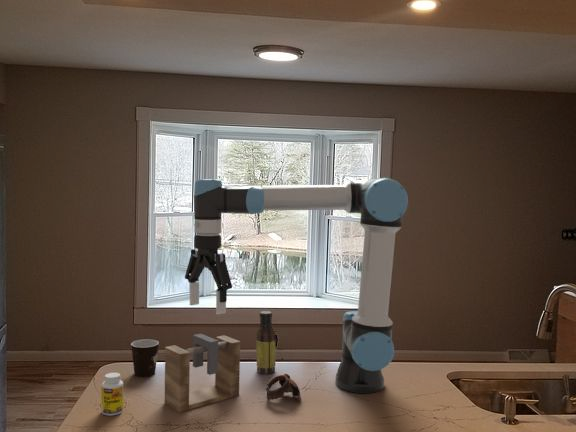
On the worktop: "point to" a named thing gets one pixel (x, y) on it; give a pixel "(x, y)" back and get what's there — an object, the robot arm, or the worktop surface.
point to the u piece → (211, 353)
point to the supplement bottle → (112, 395)
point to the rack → (180, 369)
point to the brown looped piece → (283, 388)
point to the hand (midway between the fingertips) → (207, 309)
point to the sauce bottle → (265, 344)
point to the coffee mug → (144, 357)
